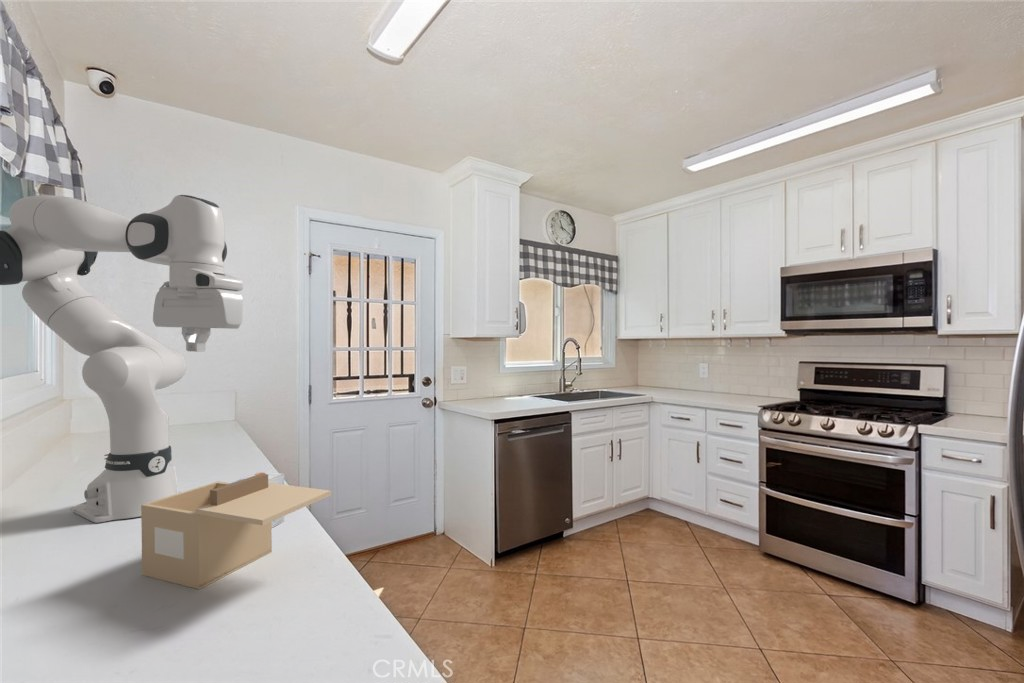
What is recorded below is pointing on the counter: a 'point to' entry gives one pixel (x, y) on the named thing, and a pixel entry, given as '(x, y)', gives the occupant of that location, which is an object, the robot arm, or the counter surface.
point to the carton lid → (258, 500)
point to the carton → (197, 540)
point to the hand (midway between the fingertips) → (195, 351)
